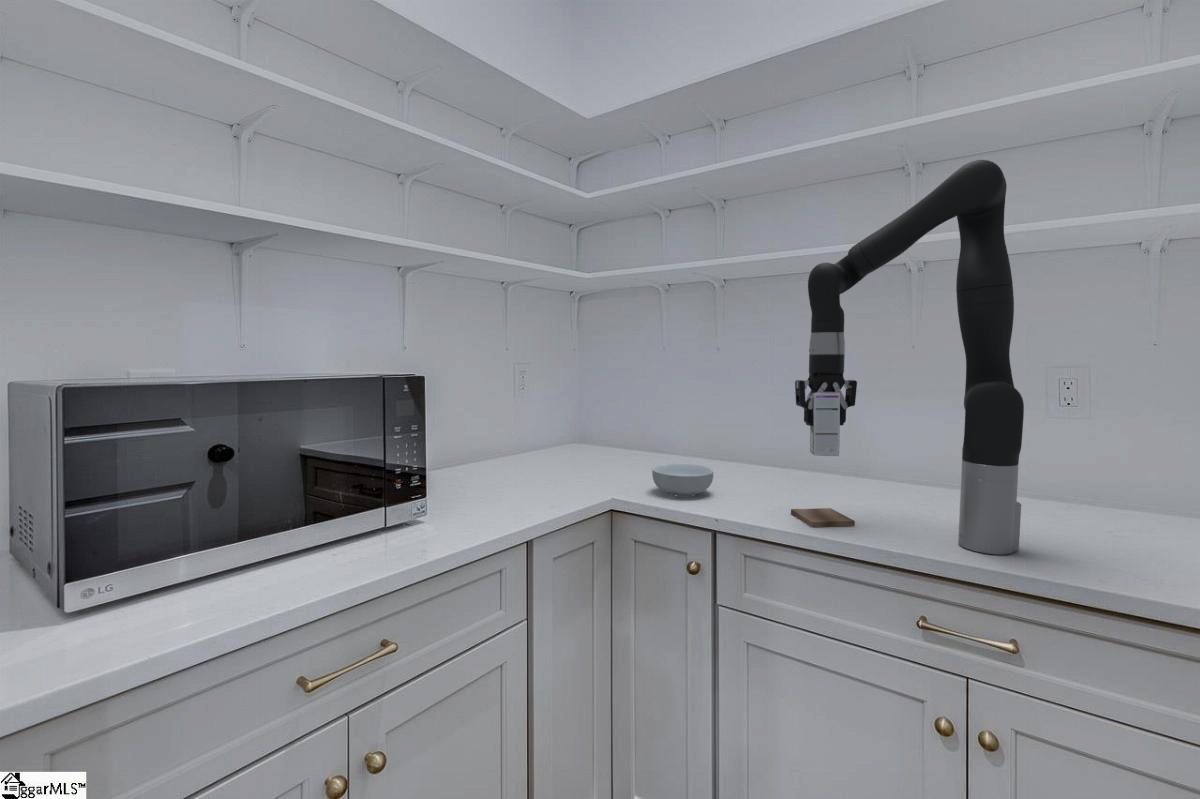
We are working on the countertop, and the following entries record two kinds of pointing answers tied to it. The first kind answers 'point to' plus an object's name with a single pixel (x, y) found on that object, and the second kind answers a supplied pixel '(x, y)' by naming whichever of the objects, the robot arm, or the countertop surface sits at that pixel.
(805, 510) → the walnut board
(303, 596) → the countertop surface
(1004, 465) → the robot arm
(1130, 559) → the countertop surface
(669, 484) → the cereal bowl
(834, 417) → the syrup box
